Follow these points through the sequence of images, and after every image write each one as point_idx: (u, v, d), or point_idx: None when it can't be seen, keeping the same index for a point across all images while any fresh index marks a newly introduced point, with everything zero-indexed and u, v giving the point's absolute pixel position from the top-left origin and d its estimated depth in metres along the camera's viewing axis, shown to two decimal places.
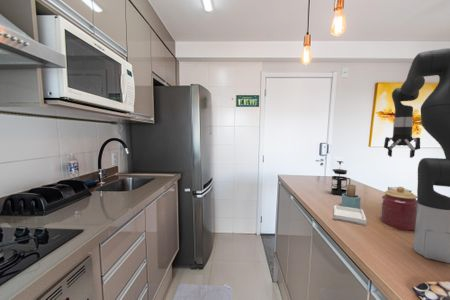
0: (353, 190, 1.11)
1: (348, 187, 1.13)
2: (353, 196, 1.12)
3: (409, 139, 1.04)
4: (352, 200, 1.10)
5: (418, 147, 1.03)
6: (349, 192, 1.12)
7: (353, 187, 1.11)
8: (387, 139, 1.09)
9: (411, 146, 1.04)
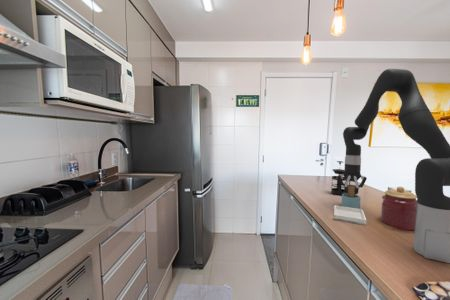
0: (353, 190, 1.11)
1: (348, 187, 1.13)
2: (353, 196, 1.12)
3: (358, 177, 1.10)
4: (352, 200, 1.10)
5: (361, 185, 1.10)
6: (349, 192, 1.12)
7: (353, 187, 1.11)
8: (339, 177, 1.14)
9: (356, 184, 1.11)
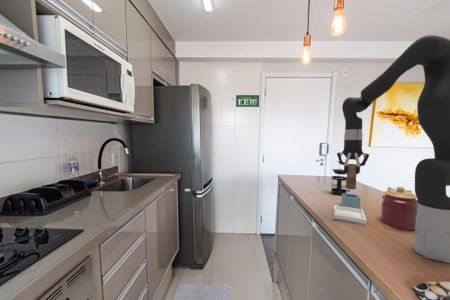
0: (354, 169, 0.98)
1: (348, 166, 1.00)
2: (354, 176, 0.99)
3: (359, 154, 0.97)
4: (352, 200, 1.10)
5: (363, 163, 0.97)
6: (349, 171, 0.99)
7: (354, 166, 0.98)
8: (338, 155, 1.02)
9: (357, 162, 0.98)
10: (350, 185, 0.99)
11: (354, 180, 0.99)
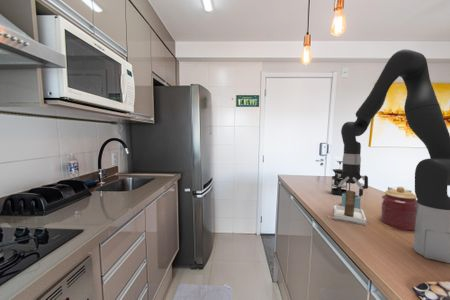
0: (353, 197, 0.99)
1: (347, 193, 1.00)
2: (352, 203, 0.99)
3: (357, 177, 0.98)
4: None
5: (366, 186, 0.96)
6: (348, 199, 1.00)
7: (353, 193, 0.99)
8: (336, 176, 1.02)
9: (359, 185, 0.97)
10: (348, 212, 1.00)
11: (352, 208, 0.99)
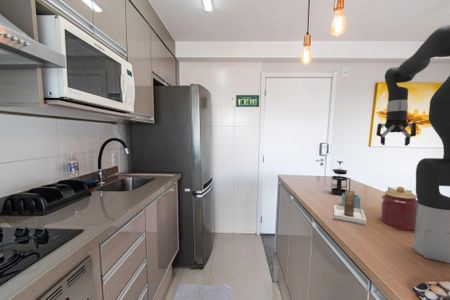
0: (352, 197, 0.99)
1: (346, 193, 1.00)
2: (352, 203, 0.99)
3: (404, 125, 0.94)
4: None
5: (414, 133, 0.92)
6: (347, 199, 1.00)
7: (352, 193, 0.99)
8: (380, 125, 0.98)
9: (406, 133, 0.93)
10: (348, 213, 1.00)
11: (352, 208, 0.99)
